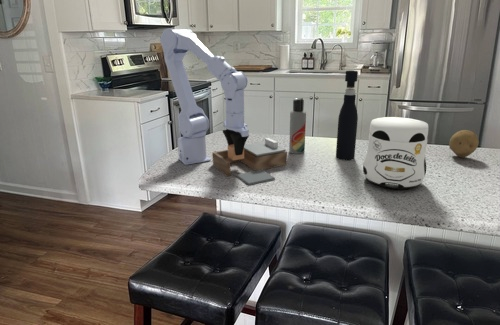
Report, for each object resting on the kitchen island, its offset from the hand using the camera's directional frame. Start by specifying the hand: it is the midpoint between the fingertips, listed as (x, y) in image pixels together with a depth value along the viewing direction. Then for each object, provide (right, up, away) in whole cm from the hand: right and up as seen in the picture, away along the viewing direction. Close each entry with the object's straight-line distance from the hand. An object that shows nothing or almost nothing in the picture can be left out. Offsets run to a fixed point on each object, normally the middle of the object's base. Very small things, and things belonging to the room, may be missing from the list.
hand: (235, 152), depth 121 cm
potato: (+79, -2, +10) cm, 79 cm away
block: (0, -2, +1) cm, 2 cm away
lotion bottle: (+22, +1, +18) cm, 29 cm away
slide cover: (+9, +1, +6) cm, 11 cm away
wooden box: (+4, -4, +5) cm, 8 cm away
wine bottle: (+38, -2, +11) cm, 40 cm away
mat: (+6, -8, -6) cm, 12 cm away
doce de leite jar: (+47, -9, -10) cm, 49 cm away
